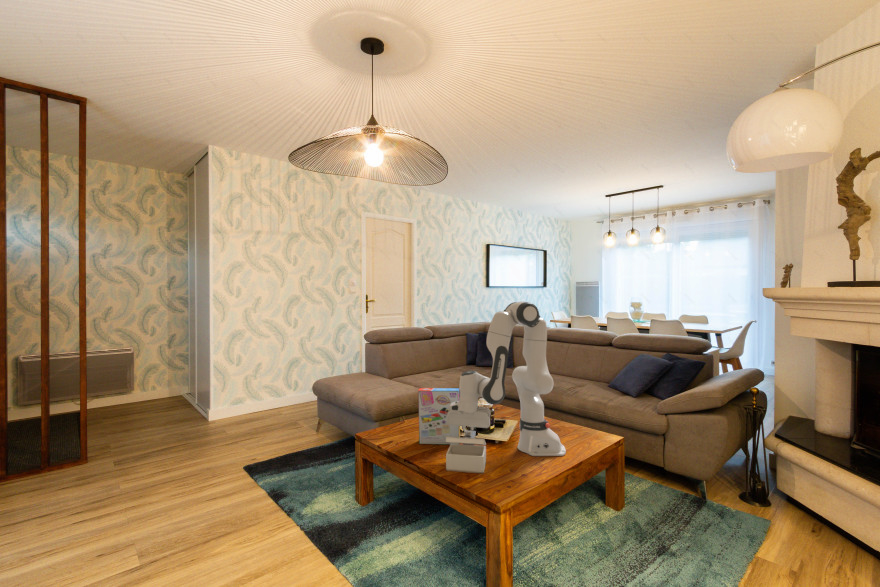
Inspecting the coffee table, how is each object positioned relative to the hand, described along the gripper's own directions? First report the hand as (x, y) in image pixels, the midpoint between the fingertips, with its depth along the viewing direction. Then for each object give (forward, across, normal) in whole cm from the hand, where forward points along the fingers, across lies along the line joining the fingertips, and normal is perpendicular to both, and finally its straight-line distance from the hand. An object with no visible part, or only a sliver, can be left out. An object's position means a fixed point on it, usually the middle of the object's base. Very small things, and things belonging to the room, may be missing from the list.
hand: (468, 435), depth 190 cm
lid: (+2, -1, +9) cm, 9 cm away
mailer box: (+9, -1, +12) cm, 15 cm away
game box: (+10, +16, -13) cm, 23 cm away
